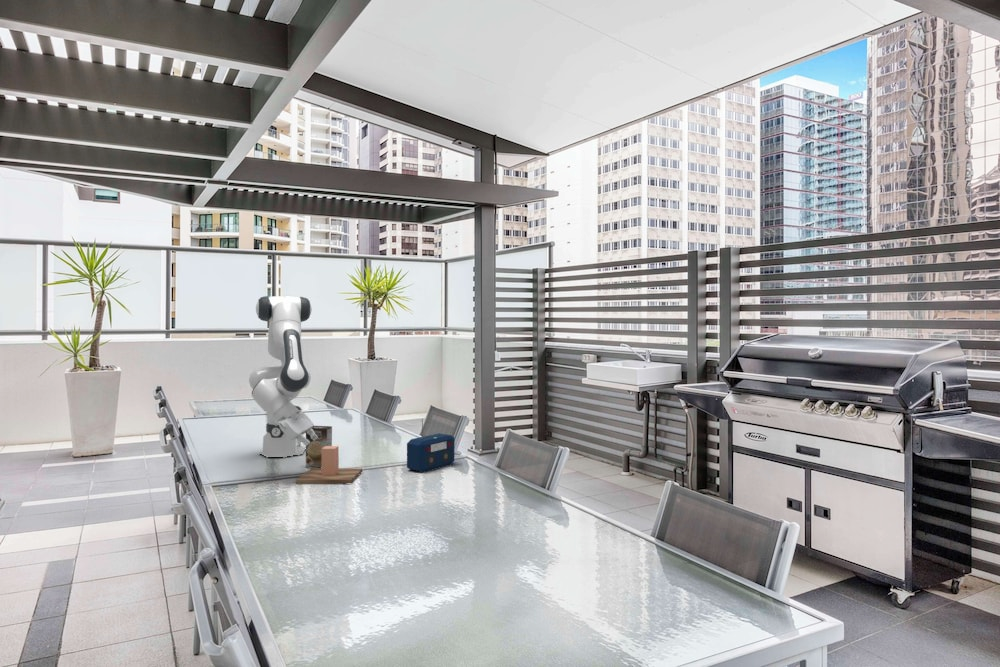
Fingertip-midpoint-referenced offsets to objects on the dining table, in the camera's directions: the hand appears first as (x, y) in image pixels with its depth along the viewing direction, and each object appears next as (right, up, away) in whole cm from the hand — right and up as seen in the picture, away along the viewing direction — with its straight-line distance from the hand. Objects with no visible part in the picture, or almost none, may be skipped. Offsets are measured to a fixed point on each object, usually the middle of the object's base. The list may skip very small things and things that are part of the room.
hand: (312, 441), depth 241 cm
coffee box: (-3, -13, +19) cm, 23 cm away
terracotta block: (+7, -12, 0) cm, 14 cm away
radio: (+43, -14, +17) cm, 48 cm away
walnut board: (+7, -14, 0) cm, 15 cm away
